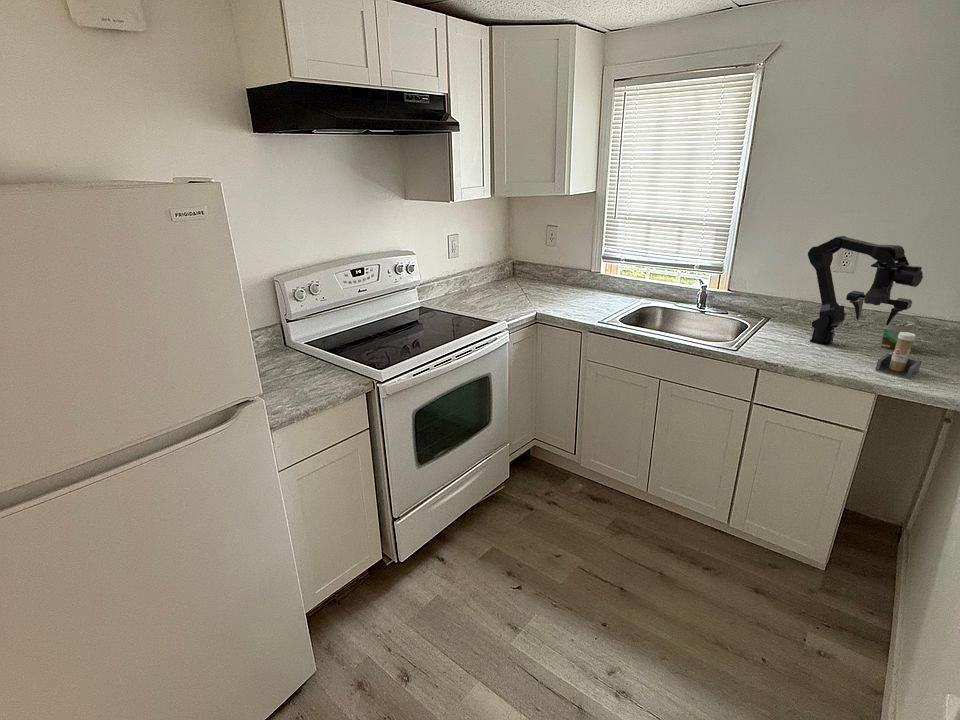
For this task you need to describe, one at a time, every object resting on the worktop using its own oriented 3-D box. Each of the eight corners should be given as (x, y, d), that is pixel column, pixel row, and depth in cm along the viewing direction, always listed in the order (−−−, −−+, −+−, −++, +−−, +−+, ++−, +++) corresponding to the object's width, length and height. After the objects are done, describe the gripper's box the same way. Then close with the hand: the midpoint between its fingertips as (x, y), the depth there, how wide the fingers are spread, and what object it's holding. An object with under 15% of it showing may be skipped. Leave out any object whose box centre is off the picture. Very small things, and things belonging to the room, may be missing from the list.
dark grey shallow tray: (874, 370, 183) (878, 360, 181) (884, 363, 188) (887, 353, 187) (909, 379, 175) (913, 368, 174) (918, 371, 181) (921, 361, 180)
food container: (893, 353, 198) (900, 328, 194) (877, 347, 204) (884, 323, 200) (917, 349, 201) (924, 324, 197) (901, 344, 207) (908, 320, 203)
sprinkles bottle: (885, 368, 183) (896, 332, 178) (892, 366, 185) (903, 330, 180) (900, 373, 179) (912, 336, 174) (907, 370, 181) (918, 334, 176)
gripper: (845, 280, 188) (835, 321, 194) (908, 289, 174) (895, 333, 180) (856, 275, 194) (846, 315, 200) (918, 284, 181) (905, 326, 187)
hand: (872, 322), depth 192 cm, fingers open, 9 cm apart
